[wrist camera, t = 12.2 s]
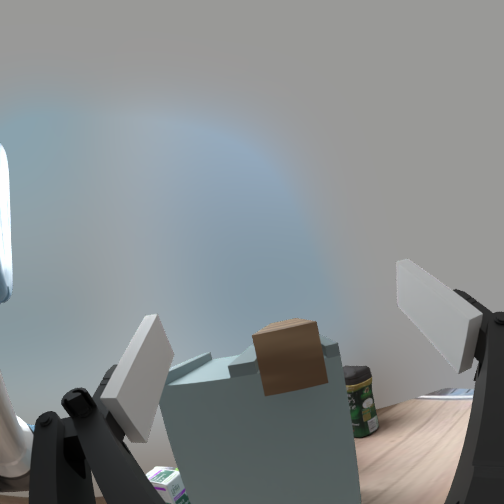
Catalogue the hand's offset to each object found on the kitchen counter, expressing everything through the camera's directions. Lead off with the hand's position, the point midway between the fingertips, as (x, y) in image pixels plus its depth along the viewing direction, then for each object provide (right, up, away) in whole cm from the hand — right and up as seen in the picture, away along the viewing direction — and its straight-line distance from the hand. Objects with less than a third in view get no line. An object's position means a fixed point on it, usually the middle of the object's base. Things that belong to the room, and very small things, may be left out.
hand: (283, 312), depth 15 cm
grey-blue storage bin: (+5, -39, +14) cm, 41 cm away
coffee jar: (+26, -43, +47) cm, 69 cm away
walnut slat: (+3, -8, +16) cm, 18 cm away
